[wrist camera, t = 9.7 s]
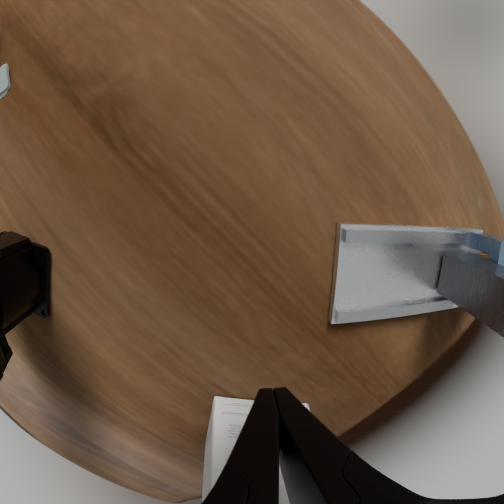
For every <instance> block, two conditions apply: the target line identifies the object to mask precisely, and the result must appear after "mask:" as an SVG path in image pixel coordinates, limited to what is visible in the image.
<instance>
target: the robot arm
mask: <svg viewBox="0 0 504 504" xmlns="http://www.w3.org/2000/svg"><path fill="white" fill-rule="evenodd" d="M43 251H44V253H45V255H44V254H43ZM49 258H50V252H49V249H48V248H47V247H45V246H42V245H39V244H37V243H34V242H31V240H30V239H29V238H28V237H25V236H22V235H20V234H17V233H15V232H6V231H4V232H1V233H0V381H1V379H2V377H3V372H4V370H5V368H6V366H7V364H8V362H9V360H10V358H11V356H12V354H13V352H12V350H11V347H9V345H8V342H7V339H6V337H5V334H7V333H8V332H9V331H10V330H12V329H13V328H14V327H15V326H16V325H18V324H19V323H20V322H21V321H23V320H24V319H25V318H26V317H28V316H29V315H30V314H32V313H35V314H37V315H39V316H41V317H43V318H47V317H48V316H49ZM44 312H45V313H44ZM279 465H280V469H281V473H282V477H283V480H284V484H285V488H286V492H287V495H288V499H289V503H290V504H504V494H502V495H499V496H496V497H490V498H480V499H457V500H456V499H450V500H449V499H431V498H426V497H423V496H420V495H418V494H416V493H414V492H412V491H410V490H408V489H407V488H405V487H403V486H402V485H400V484H398V483H396V482H395V481H393V480H391V479H390V478H388V477H387V476H385V475H383V474H382V473H380V472H379V471H377V470H376V469H374V468H373V467H372V466H370V465H369V464H368V463H366V462H365V461H364V460H363V459H361V458H360V457H359V456H358V455H357V454H356V453H354V452H353V451H352V450H351V451H350V448H349V447H348V446H347V445H345V444H344V443H343V442H342V441H341V440H340V439H339V438H338V437H337V436H336V435H335V434H333V433H332V432H331V431H330V430H329V429H328V428H327V427H326V426H325V425H324V424H323V423H322V422H321V421H320V420H319V419H318V418H316V417H315V416H314V415H313V414H312V413H311V412H310V411H309V410H308V409H307V408H306V407H305V406H304V405H303V404H302V403H301V402H300V401H299V400H298V399H297V398H296V397H295V396H294V395H293V394H292V393H291V392H290V391H289V390H288V389H287V388H286V387H279V388H274V389H273V390H272V388H262V389H259V391H258V393H257V395H256V398H255V400H254V402H253V405H252V407H251V409H250V412H249V414H248V416H247V418H246V421H245V423H244V425H243V427H242V430H241V432H240V434H239V436H238V438H237V441H236V443H235V445H234V447H233V449H232V451H231V454H230V456H229V458H228V460H227V462H226V464H225V466H224V468H223V470H222V472H221V474H220V476H219V477H218V479H217V481H216V483H215V485H214V486H213V488H212V489H211V491H210V492H209V494H208V495H207V497H206V498H205V499H204V501H203V502H202V503H201V504H279Z"/></svg>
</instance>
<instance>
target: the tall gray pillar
mask: <svg viewBox="0 0 504 504" xmlns="http://www.w3.org/2000/svg"><path fill="white" fill-rule="evenodd" d="M488 259H489V255H475V254H473V253H470V252H444V255H443V261H442V267H441V273H440V279H439V284H438V289H437V293H438V294H440V295H442V296H443V297H445V298H446V299H448V300H449V301H451V302H453V303H454V304H456V305H457V306H459V307H460V308H462V309H463V310H465V311H466V312H468V313H469V314H471V315H472V316H474V317H475V318H477V319H478V320H480V321H481V322H483V323H484V324H485V325H487V326H488V327H490V328H491V329H493V330H494V331H495V332H497V333H498V334H500V335H501V336H502V337H504V266H502V265H500V264H497V263H495V262H492V261H490V260H488Z"/></svg>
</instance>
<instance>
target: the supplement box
mask: <svg viewBox="0 0 504 504" xmlns="http://www.w3.org/2000/svg"><path fill="white" fill-rule="evenodd" d="M253 402H254V400H245V399H236V398H227V397H220V396H215V397H214V400H213V404H212V410H211V415H210V421H209V426H208V431H207V437H206V443H205V456H204V472H203V491H202V502H203V501H204V499H205V498H206V497H207V495H208V494H209V492H210V491H211V489H212V488H213V486H214V485H215V483H216V481H217V479H218V477H219V476H220V474H221V472H222V470H223V468H224V466H225V464H226V462H227V460H228V458H229V456H230V454H231V451H232V449H233V447H234V445H235V443H236V441H237V438H238V436H239V434H240V432H241V430H242V427H243V425H244V423H245V421H246V418H247V416H248V414H249V412H250V409H251V407H252V405H253ZM302 404H303V405H304V406H305V407H306V408H307V409H308V410H309V411H310V408H309V405H308V404H307V403H302ZM310 412H311V411H310ZM279 504H290V503H289V499H288V495H287V492H286V488H285V484H284V480H283V477H282V473H281V469H280V465H279Z"/></svg>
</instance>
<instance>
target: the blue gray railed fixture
mask: <svg viewBox="0 0 504 504" xmlns="http://www.w3.org/2000/svg"><path fill="white" fill-rule="evenodd" d="M444 252H470V253H473V254H475V255H479V254H480V252H482V253H485V254H488V255H489V259H488V260H490V261H492V262H495V263H497V264H500V265H502V266H504V239H501V238H498V237H495V236H492V235H489V234H485V233H483V230H481V229H478V228H463V227H446V226H426V225H404V224H376V223H337V226H336V242H335V256H334V269H333V280H332V290H331V299H330V308H329V316H328V320H329V322H330V323H331V324H340V323H350V322H360V321H369V320H378V319H386V318H394V317H401V316H408V315H415V314H422V313H428V312H434V311H440V310H445V309H451V308H456V307H459V306H457V305H456V304H454V303H453V302H451V301H449V300H448V299H446V298H445V297H443V296H442V295H440V294H438V293H437V289H438V284H439V279H440V273H441V267H442V261H443V255H444Z"/></svg>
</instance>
